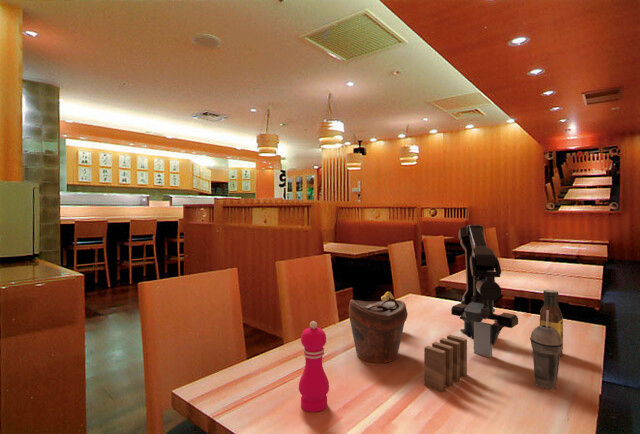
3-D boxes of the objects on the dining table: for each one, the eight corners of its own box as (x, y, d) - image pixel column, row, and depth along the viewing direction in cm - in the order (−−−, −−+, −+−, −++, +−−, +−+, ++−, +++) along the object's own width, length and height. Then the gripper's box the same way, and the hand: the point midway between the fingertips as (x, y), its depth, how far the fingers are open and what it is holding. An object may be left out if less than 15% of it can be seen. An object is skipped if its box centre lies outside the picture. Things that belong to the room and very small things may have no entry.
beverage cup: (557, 380, 96) (558, 306, 95) (566, 394, 89) (567, 314, 88) (526, 376, 98) (527, 304, 98) (533, 389, 91) (533, 311, 91)
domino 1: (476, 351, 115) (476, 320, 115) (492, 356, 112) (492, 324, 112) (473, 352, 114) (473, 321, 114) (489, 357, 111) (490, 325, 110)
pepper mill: (298, 397, 88) (297, 317, 88) (327, 396, 89) (327, 316, 88) (299, 414, 81) (298, 327, 80) (330, 412, 82) (330, 326, 81)
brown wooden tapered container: (419, 352, 115) (418, 296, 114) (385, 374, 100) (384, 310, 100) (373, 339, 127) (372, 289, 126) (336, 357, 112) (335, 300, 112)
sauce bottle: (566, 358, 110) (567, 293, 109) (544, 356, 111) (545, 293, 111) (557, 349, 116) (558, 289, 116) (536, 348, 118) (536, 288, 117)
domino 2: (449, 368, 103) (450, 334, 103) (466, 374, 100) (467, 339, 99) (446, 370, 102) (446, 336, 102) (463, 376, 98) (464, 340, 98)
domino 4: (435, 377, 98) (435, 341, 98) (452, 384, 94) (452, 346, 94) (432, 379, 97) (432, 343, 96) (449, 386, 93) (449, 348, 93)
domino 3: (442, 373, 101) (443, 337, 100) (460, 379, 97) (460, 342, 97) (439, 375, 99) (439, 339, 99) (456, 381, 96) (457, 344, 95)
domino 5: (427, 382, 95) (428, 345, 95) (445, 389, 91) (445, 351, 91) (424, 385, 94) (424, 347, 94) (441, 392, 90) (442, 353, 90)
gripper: (442, 291, 114) (442, 340, 114) (504, 303, 100) (504, 358, 101) (459, 286, 121) (459, 331, 122) (519, 296, 108) (518, 347, 108)
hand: (482, 341), depth 113 cm, fingers open, 6 cm apart
